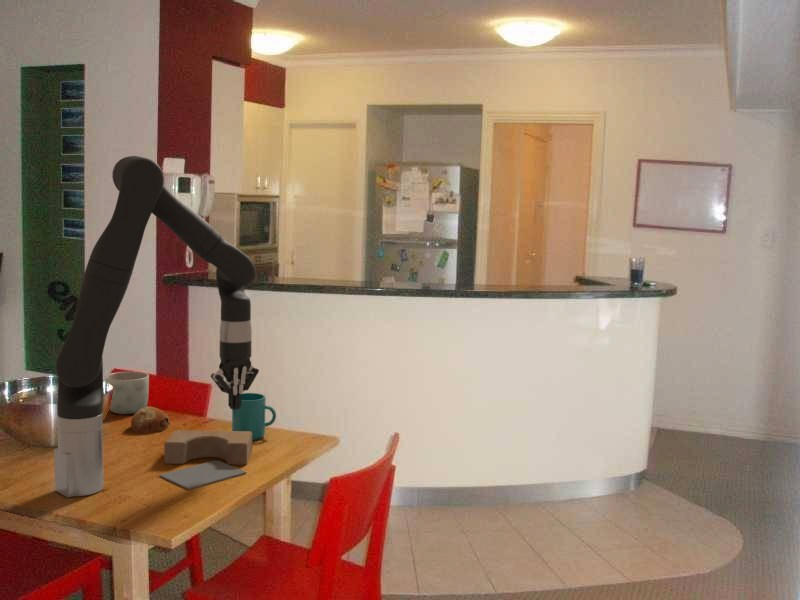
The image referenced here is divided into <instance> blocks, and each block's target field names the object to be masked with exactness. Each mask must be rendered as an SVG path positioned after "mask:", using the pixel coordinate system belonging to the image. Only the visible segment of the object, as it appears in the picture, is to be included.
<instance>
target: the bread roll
mask: <svg viewBox="0 0 800 600" xmlns="http://www.w3.org/2000/svg"><path fill="white" fill-rule="evenodd" d="M170 424H171V422H170V417H169V414H168V413H166V412H165V411H163V410H162V409H159V408H157V407H154V406H148V405H147V406H146V407H144V408H142V409H140V410H139V411H137V412H136V413H134V414H133V416H132V418H131V421H130V427H131V429H132V431H133V432H135V433H141V434H142V433H143V434H147V433H158V432H162V431H165V430H167V428H168V427H169V425H170Z"/></svg>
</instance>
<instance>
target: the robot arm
mask: <svg viewBox="0 0 800 600" xmlns="http://www.w3.org/2000/svg"><path fill="white" fill-rule="evenodd" d="M164 181H165V176H164V172H163V170H162V168H161V167H160V165H159V164H158V163H157V162H156V161H155V160H153V159H150V158H147V157H142V156H138V155H131V156H130V155H129V156H125V157H123V158H121V159H119V160H118V161H117V162H116V163H115V165H114V167H113V168H112V182H113V183H114V186H115V188H116V190H117V191H119V192H118V197H117V201H116V204H115V207H114V211H113V213H112V216H111V219H110V220H109V222H108V224H107V226H106V227H105V229H104V230H103V232H101V235H100V236H99V238H98V240H97V241H96V243H95V244H94V247H93V248H92V250H91V253H90V255H89V258H88V261H87V264H86V268H85V271H84V274H83V277H82V281H81V285H80V289H79V294H78V298H77V303H76V308H75V309H76V310H75V314H74V317H73V322H72V324H71V327H70V329H69V331H68V334H67V337H66V339H65V341H64V343H63V345H62V347H61V349H60V351H59V352H58V354H57V356H56V359H55V362H54V363H55V364H54V368H55V373H56V375H57V379H58V380H57V382H58V383H57V384H58V386H57V387H58V388H57V389H58V390H57V392H58V394H57V405H56V409H57V410H56V411H57V413H56V415H57V447H56V448H54V450H53V452H54V453H53V455H54V459H53V460H54V490H55V492H57V493H59V494H61V495H63V496H64V497H66V498H70V497H71V498H72V497H82V496H83V497H85V496H91V495H93V494H96V493H98V492H100V491H102V490H103V489H104V480H105V479H104V438H103V437H104V430H103V429H104V426H103V423H104V422H103V421H104V420H103V419H104V416H103V412H104V411H103V406H104V405H103V404H104V401H103V400H104V367H103V366H104V361H103V354H104V348H105V345H106V341H107V337H108V334H109V330H110V327H111V325H112V323H113V322H114V319H115V317H116V315H117V313H118V310H119V308H120V306H121V304H122V302H123V299H124V297H125V295H126V292H127V290H128V286H129V284H130V281H131V278H132V275H133V271H134V269H135V264H136V260H137V258H138V255H139V252H140V247H141V245H142V241H143V238H144V235H145V230H146V227H147V224H148V222H149V219H150V217H151V215H152V214H153V215H154V216H155V217H156V218H157V219H158V220H160V221H161V223H163V224H164V225H165V226H166V227H167V228H169V229H170V231H172V232H173V234H175V235H176V236H177V237H178V239H180V240H181V241H182V242H183V243H184V244H185V245H186V246H187V247H188V248H189V249H191V250H192V251H193V252H194V254H196V255H197V256H198V257H199V258H200V259H201V260H203V261H204V262H206V263H209V264H210V265H212V266H214V267H216V271H215V276H216V285H217V290H218V294H219V298H220V325H219V358H220V364H219V365H218V367H219V368H218V370H217V371H216V372H215V373H214V372H213V373H211V374H210V377H211V380H212V381H213V382H214V383H215V385H216V386H217V387H218V388H219V389H220V391H221V392H222V393H226V394H228V407H229V408H230V410H232V409H233V410H237V409H240V406H241V403H242V393H244V392H245V391H249V389H250V387H251V386H252V384H253V383H254V381H255V379H256V378H257V376H258V374H259V371H260V370H259V369H258V368H256V367H254V366H252V362H251V361H252V360H251V358H252V322H251V319H252V318H251V317H252V316H251V312H252V309H251V308H252V305H251V304H252V303H251V300H250V298H249V296H247V294H246V293H245V288H244V287H245V286H249V285H251V284H252V283H253V282H254V280H255V279H256V275H257V270H256V269H257V268H256V265H255V263H254V262H253V261H252V259H251V258H250V257H249V256H248V255H246V254H245V252H244V251H241V250H240V249H238V247H236V246H235V245H233V244H231V242H229V241H227V240H226V239H225V238H224V237H223V236H222V235H221V234H220V233H219V231H217V230H216V229H215V228H214V227H213V226H212V225H211V224H210V223H209V222H207V220H205V219H204V218H203V217H202V216H201V215H199V214H197V213H196V212H195V211H194V210H193V209H191V208H190V207H188V206H187V205H186V204H184V203H183V202H182V201H181V200H180V199H178V198H177V197H176V196H175V195H174V194H173V193H172V192H171V191H170V190H169V189H168V188H167V187H166V186H165V182H164Z"/></svg>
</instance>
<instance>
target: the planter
mask: <svg viewBox="0 0 800 600" xmlns="http://www.w3.org/2000/svg"><path fill="white" fill-rule="evenodd" d="M106 381H107V382H109V383H110V384H111V385H112V386H113V394H112V400H111V407H110V409H109V411H111V413H113V414H118V415H132V414H133V415H134V414H135V413H136V412H137V411H139V410H140V409H142V408H144V407H147V406H148V403H149V386H150V375H149V374H148V373H146V372H141V371H119V372H113V373H110V374H107V375H106V376H105V382H106Z"/></svg>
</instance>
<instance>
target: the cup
mask: <svg viewBox="0 0 800 600" xmlns="http://www.w3.org/2000/svg"><path fill="white" fill-rule="evenodd" d="M266 398H267V397H266V396H265V394H262V393H258V392H256V393H255V392H245V393H244V392H243V393H242V403H241V406H240V409H237V410H233V409H231V431H251V432H252V441H256V440H260V439H263V438H264V437H265V435H266V427H269V426H272V425H273V424H274V423H275V421H276V419H277V413H276V410H275V409H274V408H273V407H272V406H270V405H267V404H266ZM266 410H268V411H270V412H271V414H272V416H271V417H272V418H271V419H270V421H268V422H266Z"/></svg>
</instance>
